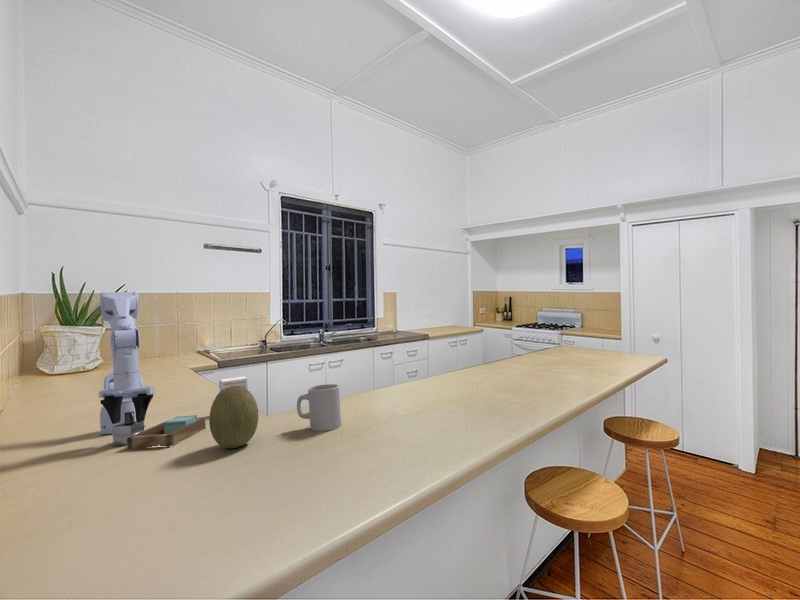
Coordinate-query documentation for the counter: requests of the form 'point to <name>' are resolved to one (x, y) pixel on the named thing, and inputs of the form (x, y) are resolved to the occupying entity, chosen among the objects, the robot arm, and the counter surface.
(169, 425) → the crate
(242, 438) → the fruit
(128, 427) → the grey piece
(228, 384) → the ink box
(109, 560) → the counter surface
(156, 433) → the bay
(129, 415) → the pin
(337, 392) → the mug
